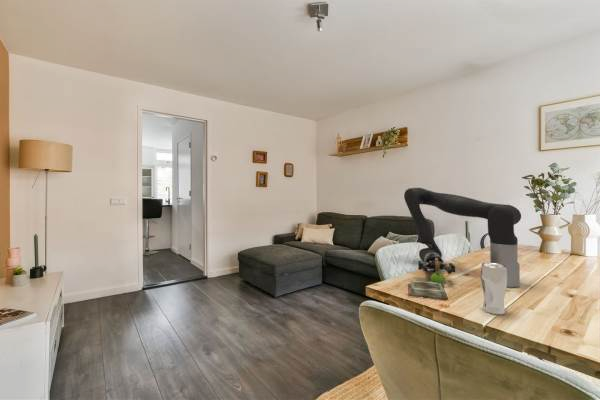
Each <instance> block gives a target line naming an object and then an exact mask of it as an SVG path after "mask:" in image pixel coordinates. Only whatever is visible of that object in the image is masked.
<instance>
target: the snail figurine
mask: <svg viewBox="0 0 600 400" xmlns="http://www.w3.org/2000/svg"><path fill="white" fill-rule="evenodd" d="M437 257H438V255H437ZM435 270H436V272H432V274H431V275H430V282H432V283H441V285H442V286H443V285H444V284H445V283H446V277H445V276H444V275H443V274H442V273H441V271H440V263H439V261H438V258H436V255H435Z"/></svg>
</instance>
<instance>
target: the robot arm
mask: <svg viewBox="0 0 600 400" xmlns="http://www.w3.org/2000/svg"><path fill="white" fill-rule="evenodd" d="M403 195H404V196H403V198H404V202H405V204H406V206H407V208H408V211H409V213H410V216H411V218H412V221H413V223H414V226H415V230H416V232H417V233H416V234H417V236H418V240H419V243H420V244H426V245H430V246H431V247H424V248H421V249H420V250H419V253H418V256H419V259H420V260H418V261H417V262H418V265H417V266H418V270H422V271H423V272H425V273H428V271H430V272H432V273H436V270H435V255H436V258H438V261H439V263H440V271H439V272H443V273H445V272H447V274H448V275H451V274H452V273H456V265H455V264H454V263H452V262H449V263H448V264H447V263H445V262H444V260H443V259H442V258H443V256H442V255H443V254H442V251H441V249H440V248H439V246H438V244H437V243H436V241H435V239H434V234H433V232H432V228H431V226H430V223H429V222H428V220H427V219H426V217H425V215H424V214H423V212H422V209H421V207H420V206H421V205H426V206H430V207H431V206H432V207H435V208H437V209H438V210H440V211H442V212H444V213H448V214H451V215H456V216H460V217H461V216H462V217H469V218H479V219H484V220H487V235H488V237H489V243H490V244H489V263H497V264H502V265H505V266H506V270H507V287H506V288H520V286H521V285H520V284H521V283H520V279H521V278H520V273H521V272H520V268H521V267H520V265H521V264H520V263H518V262H519V261H518V259H519V258H518V251H519V250H518V247H519V245H518V237H517V236H516V235H515V225H516V224H518V223H519V222H520V221H521V219H522V213H521V212H520V210H519V209H518V208H517V207H515V206H514V205H511V204H502V203H493V202H492V203H491V202H487V201H486V202H485V201H482V200H477V199H474V198H470V197H466V196H463V195H456V194H451V193H444V192H436V191H433V190H429V189H426V188H423V187H410V188H409V187H408V188H407V189H406V190H405V191H404V194H403ZM437 255H438V257H437Z"/></svg>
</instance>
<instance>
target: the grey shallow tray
mask: <svg viewBox="0 0 600 400" xmlns="http://www.w3.org/2000/svg"><path fill="white" fill-rule="evenodd" d="M407 288H408V297H409V296H415V297H414V298H418V297H423V298H422V299H427V298H430V299H429V300H437V299H439V301H446V300H448V301H449V297H448V295H447V293H446V290H445V288H444V287H443V285H441V283H432V282H431V281H422V280H421V281H419V280H410V283H408V284H407Z"/></svg>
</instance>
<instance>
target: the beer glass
mask: <svg viewBox="0 0 600 400" xmlns="http://www.w3.org/2000/svg"><path fill="white" fill-rule="evenodd" d="M480 282H481V288H482V294H483V303H482V311H484V312H486V313H488V314H491V315H497V316H503V315H506V307H505V297H506V292H507V288H508V287H507V270H506V266H505V265H502V264H497V263H490V262H482V263H481V269H480Z"/></svg>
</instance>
